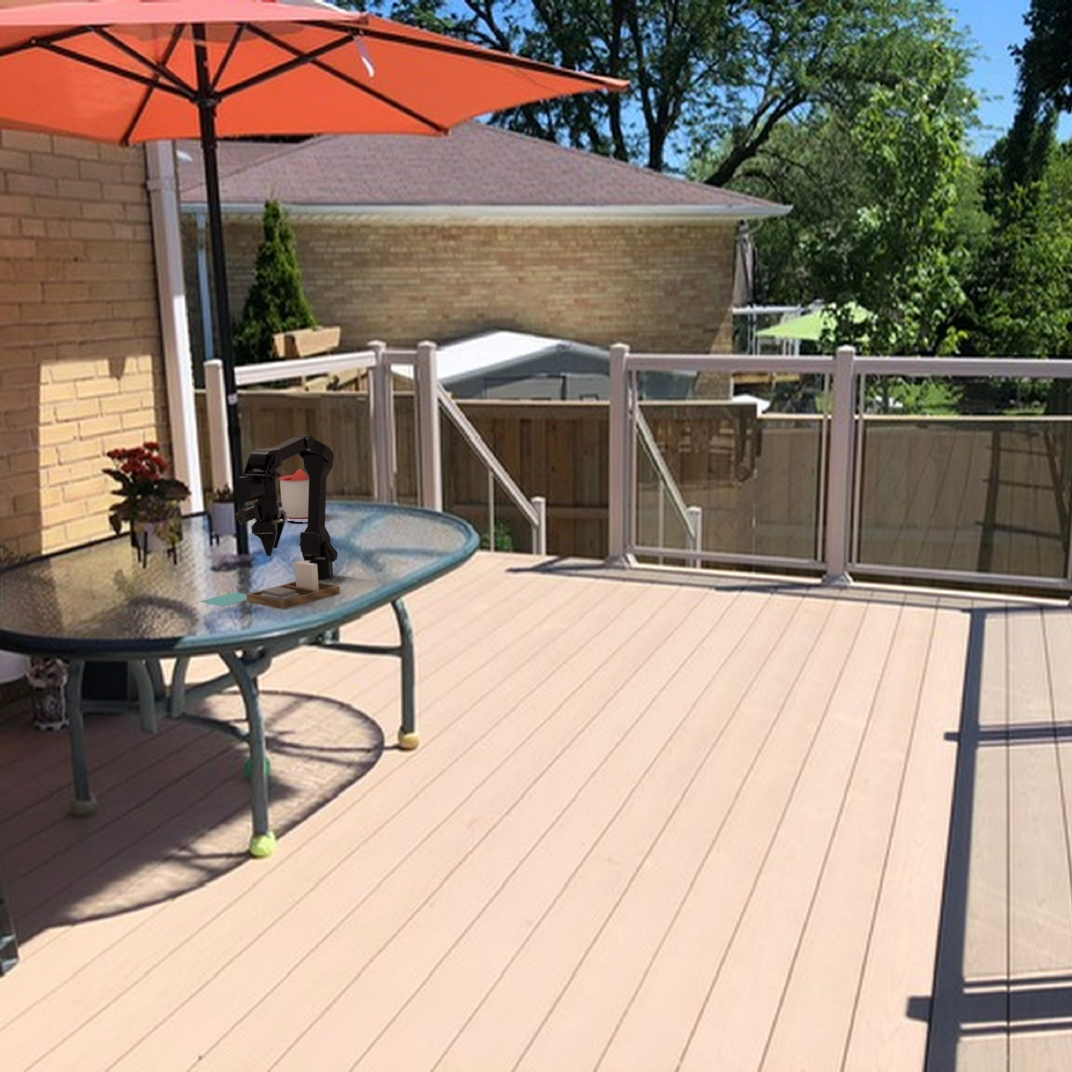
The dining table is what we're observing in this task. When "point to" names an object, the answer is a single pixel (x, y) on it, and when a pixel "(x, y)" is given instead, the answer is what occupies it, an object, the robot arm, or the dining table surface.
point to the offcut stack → (279, 593)
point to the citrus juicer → (295, 495)
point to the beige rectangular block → (306, 575)
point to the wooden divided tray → (303, 597)
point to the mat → (226, 599)
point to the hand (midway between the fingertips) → (272, 551)
